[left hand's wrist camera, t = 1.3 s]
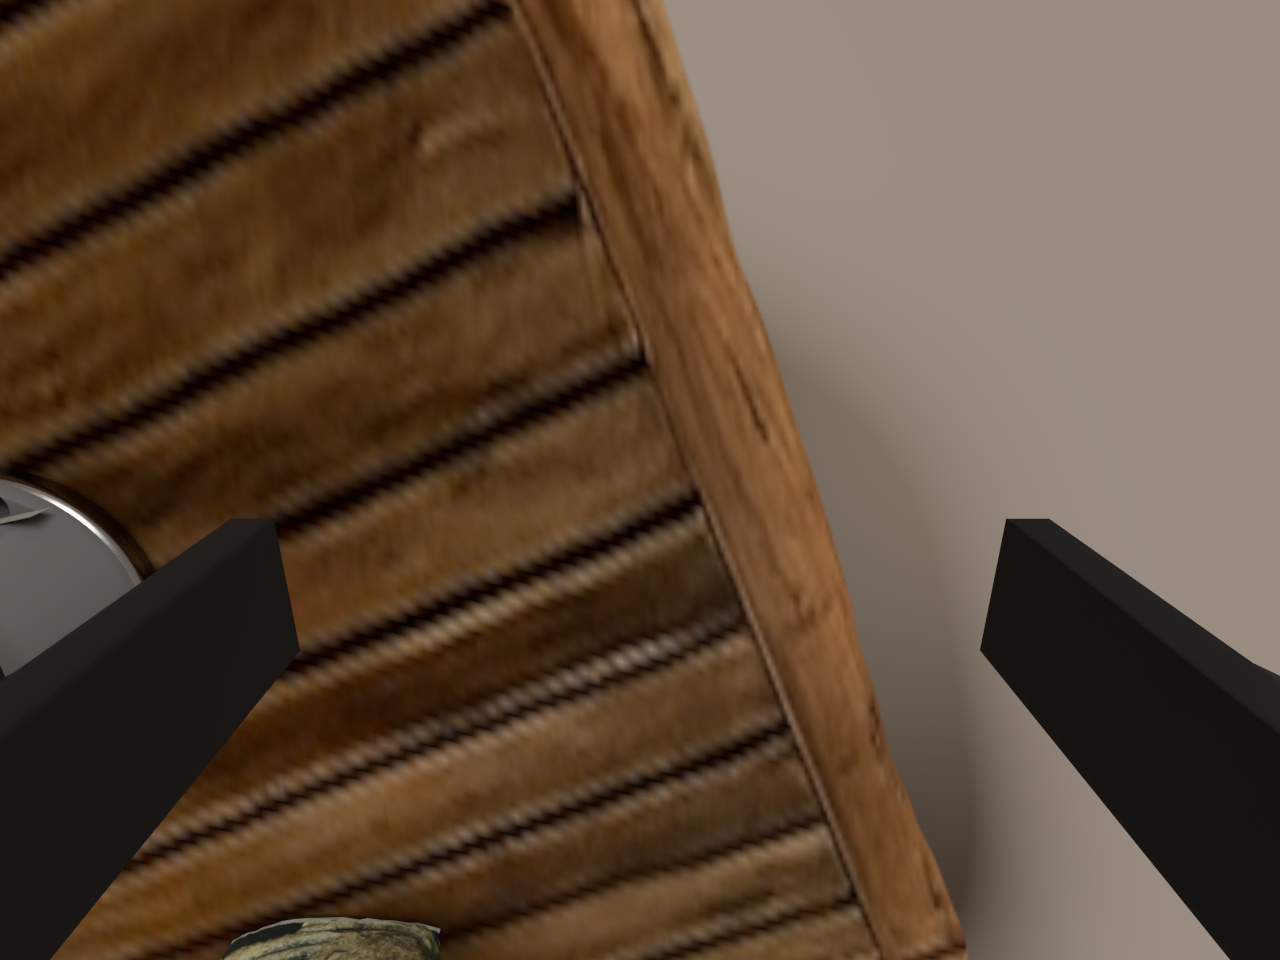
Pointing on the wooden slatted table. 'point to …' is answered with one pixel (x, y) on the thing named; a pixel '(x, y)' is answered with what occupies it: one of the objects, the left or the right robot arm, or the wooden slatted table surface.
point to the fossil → (337, 941)
